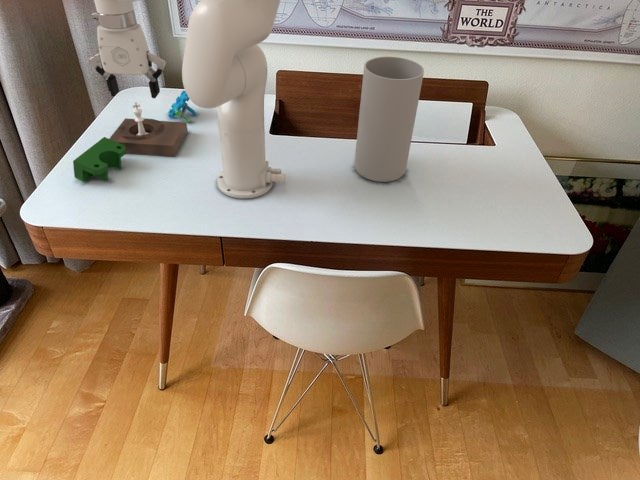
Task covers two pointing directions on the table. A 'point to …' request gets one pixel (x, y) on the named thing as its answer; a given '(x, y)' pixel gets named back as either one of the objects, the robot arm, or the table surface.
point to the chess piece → (139, 119)
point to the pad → (151, 137)
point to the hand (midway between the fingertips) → (135, 95)
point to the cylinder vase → (387, 117)
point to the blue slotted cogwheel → (181, 104)
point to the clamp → (98, 160)
